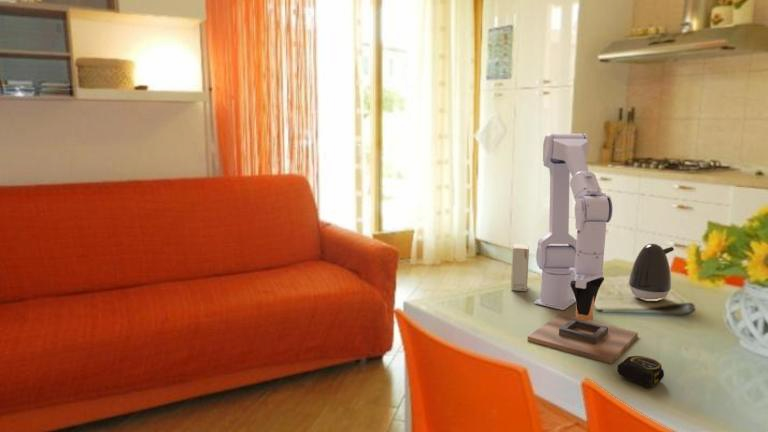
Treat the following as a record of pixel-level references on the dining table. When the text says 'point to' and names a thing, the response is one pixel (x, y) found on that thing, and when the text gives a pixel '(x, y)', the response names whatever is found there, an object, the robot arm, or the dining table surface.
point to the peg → (586, 317)
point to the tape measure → (641, 370)
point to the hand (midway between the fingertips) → (585, 311)
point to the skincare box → (519, 267)
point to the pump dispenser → (651, 273)
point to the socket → (584, 338)
